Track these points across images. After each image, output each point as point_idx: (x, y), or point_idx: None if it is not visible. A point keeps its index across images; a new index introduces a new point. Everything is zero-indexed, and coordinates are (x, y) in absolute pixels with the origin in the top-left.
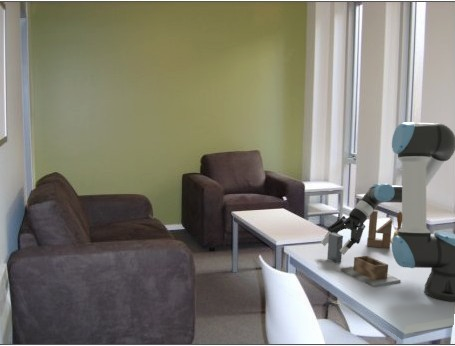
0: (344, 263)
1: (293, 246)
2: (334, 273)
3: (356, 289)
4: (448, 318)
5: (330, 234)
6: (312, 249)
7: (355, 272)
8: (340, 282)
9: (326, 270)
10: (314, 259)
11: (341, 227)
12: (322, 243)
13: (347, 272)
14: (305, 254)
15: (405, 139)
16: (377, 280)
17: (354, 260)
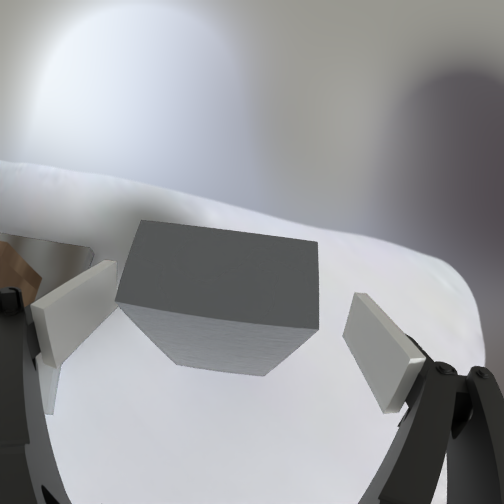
0: (149, 363)
1: (473, 304)
2: (96, 209)
3: (6, 182)
4: None
5: (284, 244)
6: None
7: (27, 262)
8: (49, 176)
9: (138, 206)
10: None
11: (369, 497)
12: (351, 304)
13: (54, 243)
14: (375, 278)
15: None
16: None
17: (14, 250)
